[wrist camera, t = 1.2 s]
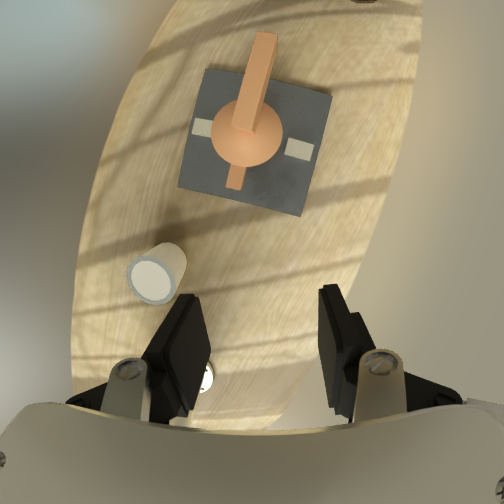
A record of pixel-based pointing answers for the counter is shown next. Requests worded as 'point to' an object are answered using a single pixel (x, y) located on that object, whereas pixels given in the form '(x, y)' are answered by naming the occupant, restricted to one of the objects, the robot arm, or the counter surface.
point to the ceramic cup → (364, 1)
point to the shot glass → (157, 273)
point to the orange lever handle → (249, 116)
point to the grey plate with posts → (273, 170)
